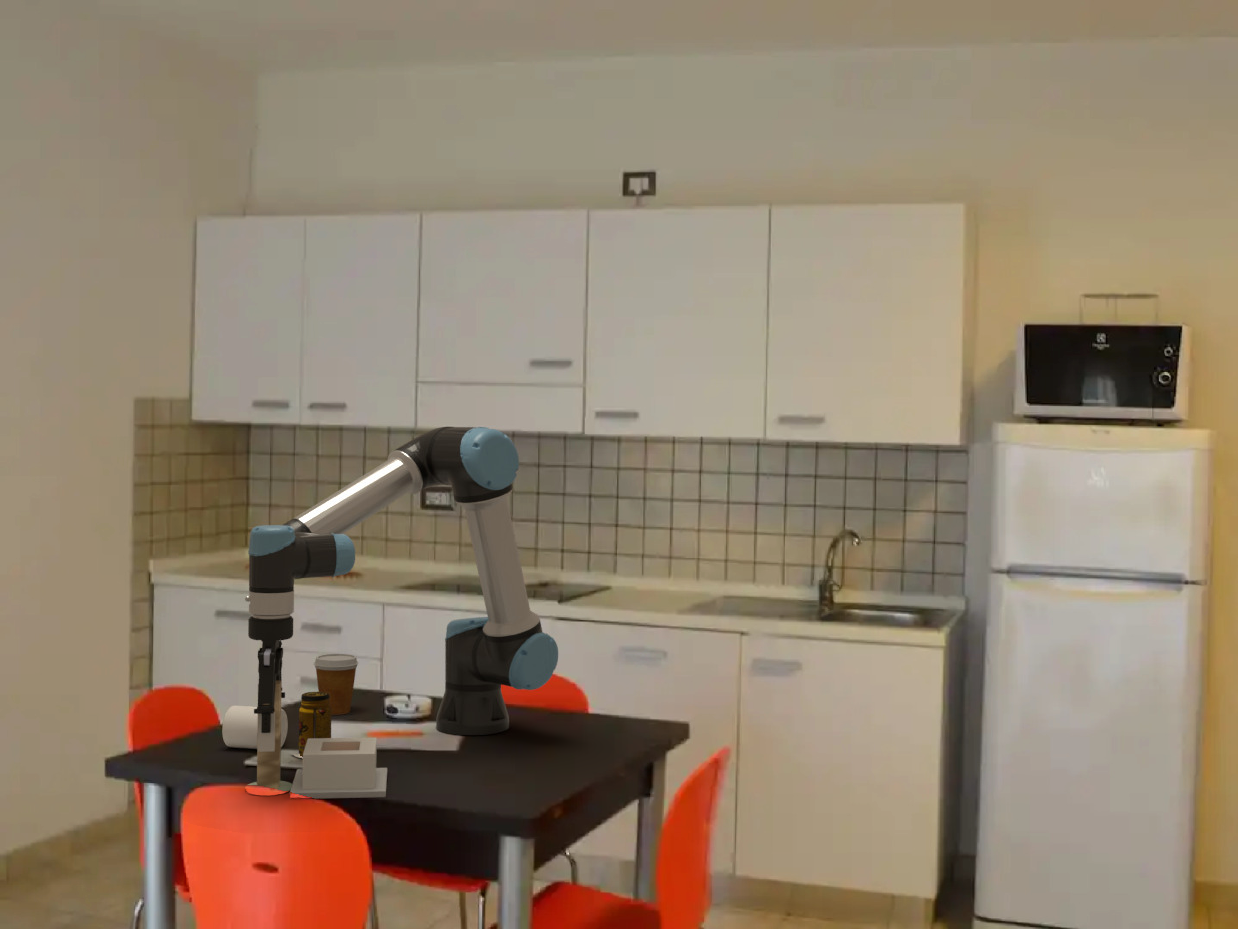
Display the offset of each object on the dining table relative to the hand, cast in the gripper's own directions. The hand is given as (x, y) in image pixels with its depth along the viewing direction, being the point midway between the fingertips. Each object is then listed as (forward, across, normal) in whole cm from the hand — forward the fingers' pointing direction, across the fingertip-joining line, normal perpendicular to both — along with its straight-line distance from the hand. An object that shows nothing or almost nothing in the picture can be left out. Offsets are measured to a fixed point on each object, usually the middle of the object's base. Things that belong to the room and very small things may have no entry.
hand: (269, 743), depth 243 cm
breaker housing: (+8, -2, +12) cm, 15 cm away
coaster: (+8, 0, 0) cm, 8 cm away
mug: (+8, -33, -5) cm, 34 cm away
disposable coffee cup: (+8, -63, +8) cm, 64 cm away
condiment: (+8, -24, +7) cm, 26 cm away
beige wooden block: (+7, 0, 0) cm, 7 cm away
